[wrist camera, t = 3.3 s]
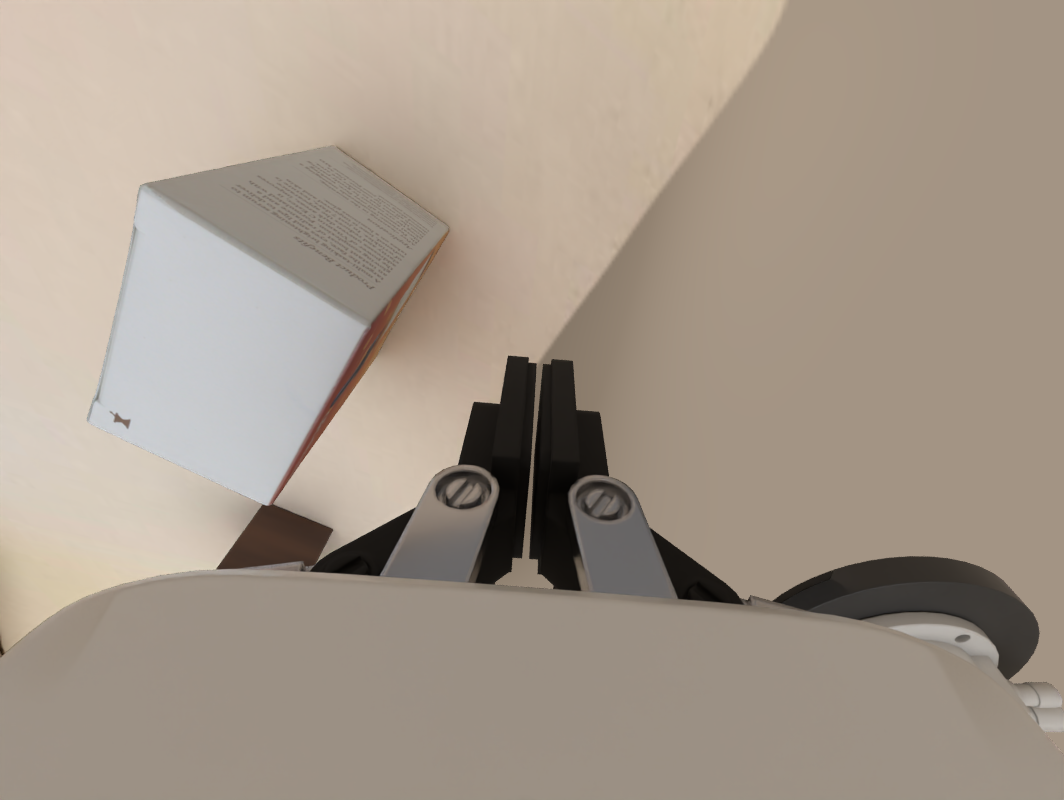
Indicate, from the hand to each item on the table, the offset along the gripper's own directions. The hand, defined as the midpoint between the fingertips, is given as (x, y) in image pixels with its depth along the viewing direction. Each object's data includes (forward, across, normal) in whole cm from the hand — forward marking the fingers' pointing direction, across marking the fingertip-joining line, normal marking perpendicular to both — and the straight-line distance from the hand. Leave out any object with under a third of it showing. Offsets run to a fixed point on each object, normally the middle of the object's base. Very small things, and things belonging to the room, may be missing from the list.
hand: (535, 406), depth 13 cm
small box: (+11, +8, 0) cm, 14 cm away
